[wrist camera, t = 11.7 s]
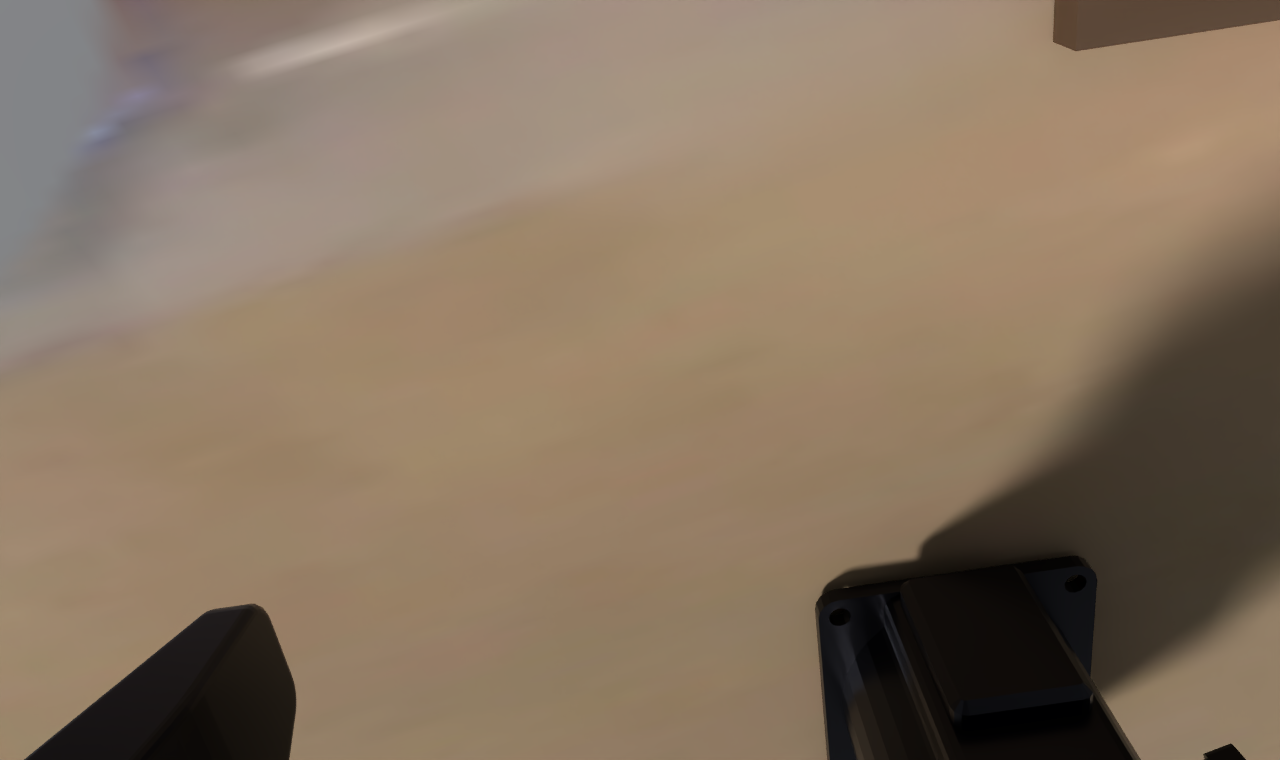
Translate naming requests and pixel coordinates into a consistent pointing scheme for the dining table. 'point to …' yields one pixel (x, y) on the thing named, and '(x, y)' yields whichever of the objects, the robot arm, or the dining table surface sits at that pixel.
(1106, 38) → the socket board
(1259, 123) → the dining table surface
